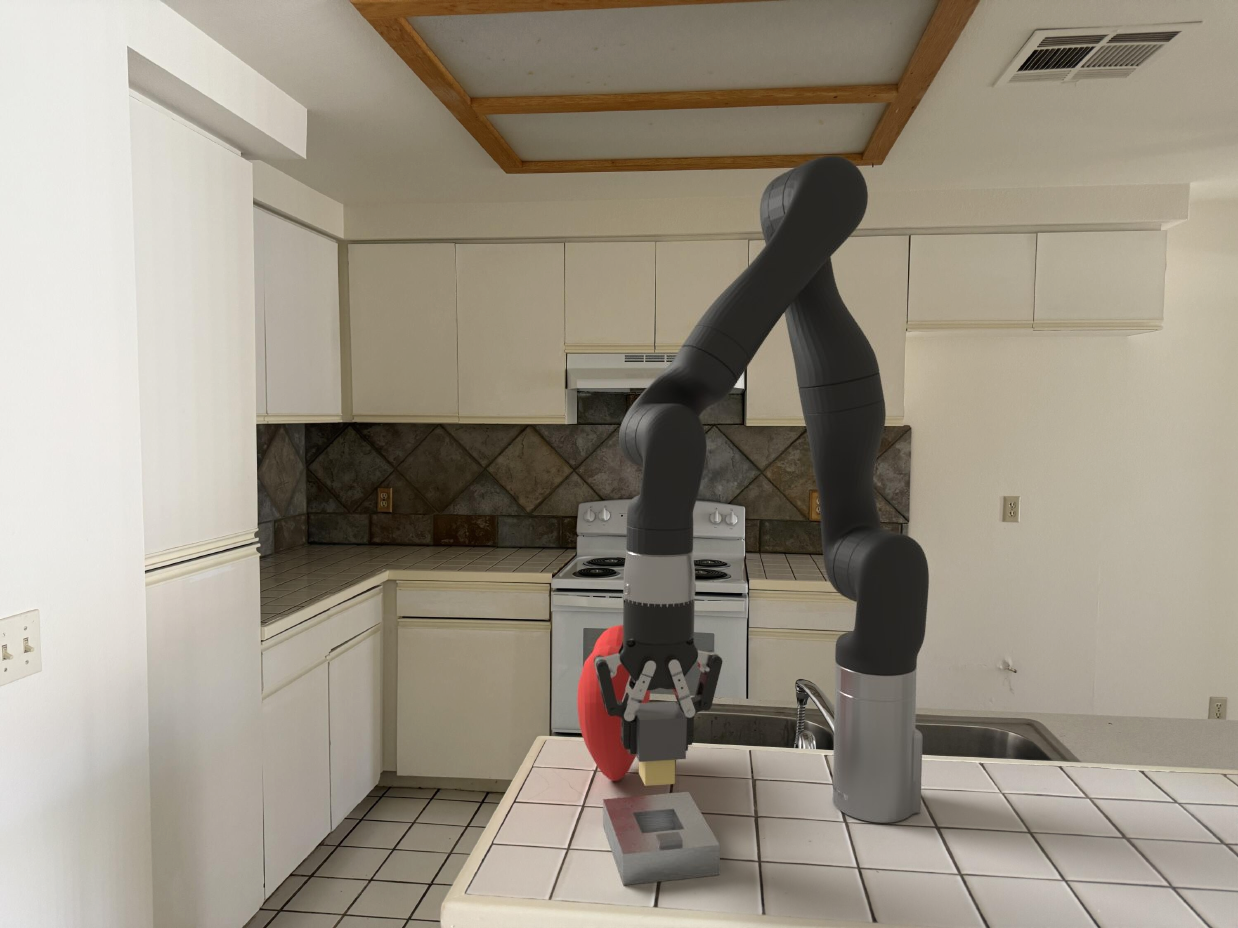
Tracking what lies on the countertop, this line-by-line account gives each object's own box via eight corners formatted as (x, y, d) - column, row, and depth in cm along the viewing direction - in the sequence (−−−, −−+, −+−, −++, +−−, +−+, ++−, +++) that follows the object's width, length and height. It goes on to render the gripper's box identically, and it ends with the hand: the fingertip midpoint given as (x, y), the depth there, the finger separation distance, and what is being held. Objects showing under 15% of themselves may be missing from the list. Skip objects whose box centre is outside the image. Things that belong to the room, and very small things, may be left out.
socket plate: (688, 818, 98) (688, 785, 98) (719, 874, 86) (719, 837, 86) (603, 826, 96) (603, 793, 96) (623, 884, 85) (623, 847, 84)
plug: (673, 766, 94) (674, 701, 93) (685, 786, 89) (686, 717, 88) (629, 769, 93) (630, 703, 92) (638, 789, 88) (639, 720, 87)
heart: (640, 820, 98) (640, 660, 96) (566, 815, 99) (566, 657, 98) (655, 749, 118) (655, 617, 116) (594, 746, 119) (594, 615, 117)
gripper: (714, 583, 94) (711, 732, 96) (586, 587, 92) (585, 740, 93) (735, 598, 87) (732, 760, 88) (597, 603, 84) (596, 769, 86)
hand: (656, 749), depth 91 cm, fingers closed on plug, 5 cm apart
